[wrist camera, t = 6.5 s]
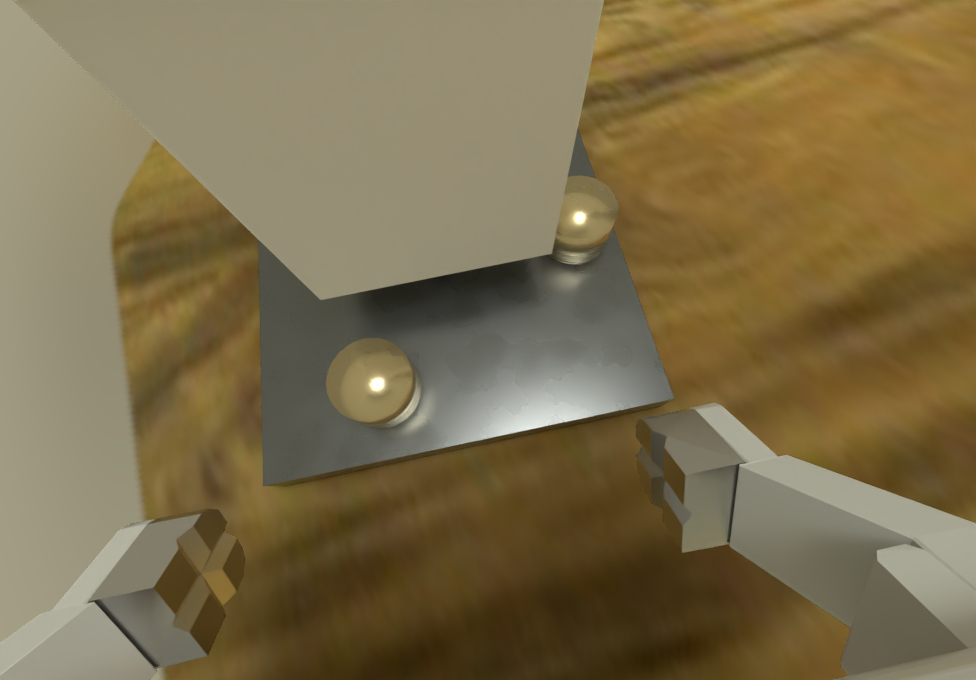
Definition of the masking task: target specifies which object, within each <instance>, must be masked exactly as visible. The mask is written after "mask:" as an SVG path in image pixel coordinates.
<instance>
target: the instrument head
mask: <svg viewBox="0 0 976 680" xmlns="http://www.w3.org/2000/svg"><path fill="white" fill-rule="evenodd" d="M13 1H15V2H16V3H17V4H18V5H19V6H20V7H21V8H22V9H23V10H24V11H25V12H26V13H27V14H28V15H29V16H30V17H31V18H32V19H33V20H34V21H35V22H36V23H37V24H38V25H39V26H40V27H41V28H42V29H43V30H44V31H45V32H46V33H47V34H48V35H49V36H50V37H51V38H53V40H54V41H55V42H56V43H58V44H59V45H60V46H61V47H62V48H63V49H64V50H65V51H66V52H67V53H68V54H69V55H70V56H71V57H72V58H73V59H74V60H75V61H76V62H77V63H78V64H79V65H80V66H81V67H82V68H83V69H84V70H85V71H86V72H87V73H88V74H89V75H90V76H91V77H92V78H93V79H95V81H97V82H98V83H99V84H100V85H101V86H102V87H103V88H104V89H105V90H106V91H107V92H108V93H109V94H110V95H111V96H112V97H113V98H114V99H115V100H116V101H117V102H118V103H119V104H120V105H121V106H122V107H123V108H124V109H125V110H126V111H127V112H128V113H129V114H130V115H131V116H132V117H133V118H134V119H136V121H137V122H139V123H140V124H141V125H142V126H143V127H144V128H145V129H146V130H147V131H148V132H149V133H150V134H151V135H152V136H153V137H154V138H155V139H156V140H157V141H158V142H159V143H160V144H161V145H162V146H163V147H164V148H165V149H166V150H167V151H168V152H169V153H170V154H171V155H172V156H173V157H174V158H175V159H176V160H177V161H178V162H179V163H181V164H182V165H183V166H184V167H185V168H186V169H187V170H188V171H189V172H190V173H191V174H192V175H193V176H194V177H195V178H196V179H197V180H198V181H199V182H200V183H201V184H202V185H203V186H204V187H205V188H206V189H207V190H208V191H209V192H210V193H211V194H212V195H213V196H214V197H215V198H216V199H217V200H218V201H219V202H220V203H222V204H223V205H224V206H225V207H226V208H227V209H228V210H229V211H230V212H231V213H232V214H233V215H234V216H235V217H236V218H237V219H238V220H239V221H240V222H241V223H242V224H243V225H244V226H245V227H246V228H247V229H248V230H249V231H250V232H251V233H252V234H253V235H254V236H255V237H256V238H257V239H258V240H259V241H260V242H262V243H263V244H264V245H265V246H266V247H267V248H268V249H269V250H270V251H271V252H272V253H273V254H274V255H275V256H276V257H277V258H278V259H279V260H280V261H281V262H282V263H283V264H284V265H285V266H286V267H287V268H288V269H289V270H290V271H291V272H292V273H293V274H294V275H295V276H296V277H297V278H298V279H299V280H300V281H301V282H303V283H304V284H305V285H306V286H307V287H308V288H309V289H310V290H311V291H312V292H313V293H314V294H315V295H316V296H317V297H318V298H319V299H320V300H324V299H329V298H334V297H339V296H344V295H349V294H354V293H359V292H364V291H369V290H374V289H379V288H384V287H389V286H394V285H399V284H404V283H409V282H414V281H419V280H424V279H429V278H433V277H438V276H443V275H448V274H453V273H458V272H463V271H468V270H473V269H478V268H483V267H488V266H493V265H498V264H503V263H508V262H513V261H518V260H523V259H528V258H533V257H538V256H543V255H548V254H552V250H553V245H554V240H555V236H556V231H557V226H558V221H559V216H560V211H561V206H562V202H563V197H564V192H565V187H566V182H567V177H568V172H569V168H570V163H571V158H572V153H573V148H574V143H575V138H576V133H577V129H578V124H579V119H580V114H581V109H582V104H583V99H584V95H585V90H586V85H587V80H588V75H589V70H590V65H591V61H592V56H593V51H594V46H595V41H596V36H597V31H598V26H599V22H600V17H601V12H602V7H603V2H604V0H13Z"/></svg>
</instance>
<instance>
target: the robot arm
mask: <svg viewBox="0 0 976 680" xmlns="http://www.w3.org/2000/svg"><path fill="white" fill-rule="evenodd" d="M636 437H637V439H638V440H639V442H640V443H641V444H642V448H641V449H640V451H639V452H638V453H637V469H638V473H639V477H640V481H641V483H642V486H643V488H644V490H645V493H646V494H647V496H648V498H649V500H650V501H651V503H652V504H654V505H656V506H658V507H660V508H661V509H663V523H664V525H665V526H666V528H667V529H668V531H669V533H670V534H671V536H672V538H673V539H674V541H675V543H676V544H677V546H678V547H679V549H680V551H681V552H682V553H684V552H689V551H695V550H700V549H705V548H711V547H716V546H721V545H727V544H730V546H729V547H731V548H732V549H734V550H735V551H737V552H738V553H740V554H741V555H743V556H744V557H746V558H747V559H749V560H750V561H752V562H753V563H755V564H756V565H758V566H759V567H760V568H762V569H763V570H765V571H766V572H768V573H769V574H771V575H772V576H774V577H775V578H777V579H778V580H780V581H781V582H783V583H784V584H786V585H787V586H789V587H790V588H792V589H793V590H795V591H796V592H798V593H799V594H801V595H802V596H803V597H805V598H806V599H808V600H809V601H811V602H812V603H814V604H815V605H817V606H818V607H820V608H821V609H823V610H824V611H826V612H827V613H829V614H830V615H832V616H833V617H835V618H836V619H838V620H839V621H841V622H842V623H844V624H845V625H846V626H848V627H849V628H851V629H850V632H849V635H848V638H847V641H846V644H845V647H844V650H843V653H842V657H841V663H840V666H841V667H842V668H843V670H844V671H845V672H846V674H847V675H848V676H846V677H841V678H837V679H832V680H976V523H973V522H970V521H968V520H965V519H962V518H959V517H957V516H954V515H951V514H948V513H946V512H943V511H940V510H937V509H935V508H932V507H929V506H926V505H924V504H921V503H918V502H915V501H913V500H910V499H907V498H904V497H901V496H899V495H896V494H893V493H890V492H888V491H885V490H882V489H879V488H877V487H874V486H871V485H868V484H866V483H863V482H860V481H857V480H855V479H852V478H849V477H846V476H844V475H841V474H838V473H835V472H833V471H830V470H827V469H824V468H822V467H819V466H816V465H813V464H810V463H808V462H805V461H802V460H799V459H797V458H794V457H791V456H788V455H784V456H779V457H778V456H777V455H776V454H775V453H774V452H773V451H772V450H770V449H769V448H768V447H767V446H766V445H765V444H764V443H763V442H762V441H760V440H759V439H758V438H757V437H756V436H755V435H754V434H753V433H752V432H750V431H749V430H748V429H747V428H746V427H745V426H744V425H743V424H742V423H740V422H739V421H738V420H737V419H736V418H735V417H734V416H733V415H732V414H730V413H729V412H728V411H727V410H726V409H725V408H724V407H723V406H721V405H720V404H717V403H710V404H705V405H701V406H697V407H692V408H689V409H687V410H681V411H677V412H672V413H667V414H663V415H658V416H653V417H649V418H644V419H639V420H638V422H637V425H636ZM226 524H227V521H226V520H225V518H224V517H223V515H222V514H221V513H220V511H219V510H216V509H204V510H199V511H193V512H188V513H183V514H177V515H172V516H166V517H161V518H157V519H153V520H147V521H142V522H136V523H132V524H129V525H127V526H125V527H124V528H122V529H120V530H119V531H118V532H117V533H116V534H115V535H114V537H113V538H112V539H111V540H110V542H109V543H108V544H107V545H106V546H105V547H104V549H103V550H102V551H101V552H100V553H99V555H98V556H97V557H96V558H95V560H94V561H93V562H92V563H91V564H90V565H89V567H88V568H87V569H86V570H85V571H84V572H83V574H82V575H81V576H80V577H79V578H78V580H77V581H76V582H75V583H74V584H73V586H72V587H71V588H70V589H69V591H68V592H67V593H66V594H65V595H64V596H63V598H62V599H61V600H60V601H59V603H58V604H57V605H56V606H55V607H54V608H53V609H52V611H48V612H44V613H41V614H40V615H39V616H37V617H35V618H34V619H33V620H31V621H30V622H28V623H27V624H26V625H24V626H23V627H22V628H20V629H19V630H17V631H16V632H15V633H13V634H12V635H11V636H9V637H8V638H6V639H5V640H4V641H2V642H1V643H0V680H150V679H151V678H152V677H153V676H154V674H155V673H156V672H157V670H156V669H157V668H161V667H165V666H169V665H173V664H177V663H181V662H185V661H189V660H193V659H197V658H201V657H205V656H208V654H209V652H210V650H211V648H212V645H213V643H214V641H215V639H216V637H217V634H218V632H219V630H220V628H221V626H222V623H223V621H224V619H225V617H226V615H225V611H224V608H223V605H224V604H225V603H226V602H227V601H228V600H229V599H230V598H231V597H232V596H233V595H234V594H235V593H236V592H237V590H238V588H239V585H240V583H241V581H242V578H243V575H244V566H245V556H244V552H243V548H242V546H241V544H240V542H239V541H238V539H237V538H235V537H233V536H231V535H229V534H227V533H225V532H224V530H225V527H226Z"/></svg>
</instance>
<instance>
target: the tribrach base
mask: <svg viewBox="0 0 976 680" xmlns="http://www.w3.org/2000/svg"><path fill="white" fill-rule="evenodd" d="M617 215H618V202H617V199H616V196H615V195H614V193H613V191H612V190H611V189H610V188H609V187H608V186H607V185H606V184H604V183H603V182H601V181H599V180H597V179H596V178H595V175H594V172H593V170H592V167H591V164H590V161H589V158H588V156H587V153H586V150H585V147H584V145H583V142H582V139H581V136H580V133H579V131H578V129H577V133H576V138H575V143H574V148H573V153H572V158H571V163H570V168H569V172H568V177H567V182H566V187H565V192H564V197H563V202H562V206H561V211H560V216H559V221H558V226H557V231H556V236H555V240H554V245H553V250H552V254H548V255H543V256H538V257H533V258H528V259H523V260H518V261H513V262H508V263H503V264H498V265H493V266H488V267H483V268H478V269H473V270H468V271H463V272H458V273H453V274H448V275H443V276H438V277H433V278H429V279H424V280H419V281H414V282H409V283H404V284H399V285H394V286H389V287H384V288H379V289H374V290H369V291H364V292H359V293H354V294H349V295H344V296H339V297H334V298H329V299H324V300H320V299H319V298H318V297H317V296H316V295H315V294H314V293H313V292H312V291H311V290H310V289H309V288H308V287H307V286H306V285H305V284H304V283H303V282H301V281H300V280H299V279H298V278H297V277H296V276H295V275H294V274H293V273H292V272H291V271H290V270H289V269H288V268H287V267H286V266H285V265H284V264H283V263H282V262H281V261H280V260H279V259H278V258H277V257H276V256H275V255H274V254H273V253H272V252H271V251H270V250H269V249H268V248H267V247H266V246H265V245H264V244H263V243H262V242H260V241H259V240H258V250H259V298H260V347H261V396H262V444H263V486H289V485H294V484H299V483H303V482H308V481H313V480H317V479H322V478H327V477H332V476H336V475H341V474H346V473H350V472H355V471H360V470H364V469H369V468H374V467H379V466H383V465H388V464H393V463H397V462H402V461H407V460H411V459H416V458H421V457H426V456H430V455H435V454H440V453H444V452H449V451H454V450H458V449H463V448H468V447H473V446H477V445H482V444H487V443H491V442H496V441H501V440H505V439H510V438H515V437H520V436H524V435H529V434H534V433H538V432H543V431H548V430H552V429H557V428H562V427H567V426H571V425H576V424H581V423H585V422H590V421H595V420H599V419H604V418H609V417H614V416H618V415H623V414H628V413H632V412H637V411H642V410H646V409H651V408H656V407H660V406H662V405H664V404H666V403H668V402H669V401H671V400H673V399H674V396H673V393H672V390H671V387H670V385H669V382H668V379H667V376H666V374H665V371H664V368H663V365H662V362H661V360H660V357H659V354H658V351H657V348H656V346H655V343H654V340H653V337H652V334H651V332H650V329H649V326H648V323H647V320H646V318H645V315H644V312H643V309H642V307H641V304H640V301H639V298H638V295H637V293H636V290H635V287H634V284H633V281H632V279H631V276H630V273H629V270H628V267H627V265H626V262H625V259H624V256H623V253H622V251H621V248H620V245H619V242H618V239H617V237H616V234H615V231H614V228H613V225H614V223H615V221H616V218H617Z"/></svg>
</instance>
